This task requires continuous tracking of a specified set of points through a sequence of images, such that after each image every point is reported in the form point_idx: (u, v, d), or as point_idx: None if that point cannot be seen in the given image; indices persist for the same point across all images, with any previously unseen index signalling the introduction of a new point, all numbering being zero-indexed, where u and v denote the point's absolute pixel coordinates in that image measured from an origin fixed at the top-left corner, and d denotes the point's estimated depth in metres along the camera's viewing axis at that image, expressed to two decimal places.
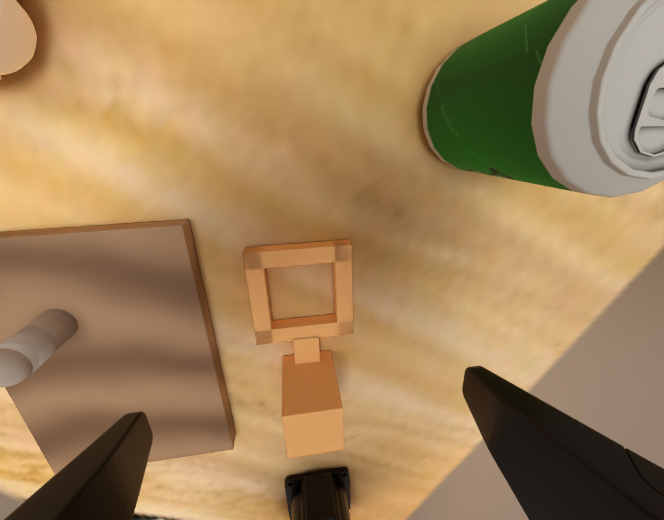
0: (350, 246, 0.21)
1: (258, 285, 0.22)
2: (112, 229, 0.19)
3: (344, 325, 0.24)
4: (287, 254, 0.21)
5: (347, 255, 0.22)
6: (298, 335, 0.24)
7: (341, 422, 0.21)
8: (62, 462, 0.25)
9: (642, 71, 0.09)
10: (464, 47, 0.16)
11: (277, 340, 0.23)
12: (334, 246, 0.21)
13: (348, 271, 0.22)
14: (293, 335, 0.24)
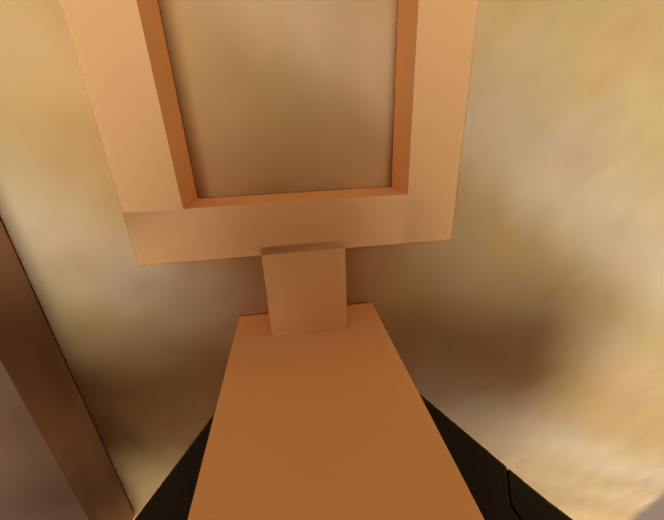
0: None
1: None
2: None
3: (429, 208, 0.07)
4: None
5: None
6: (279, 237, 0.07)
7: None
8: None
9: None
10: None
11: (209, 252, 0.07)
12: None
13: None
14: (262, 236, 0.07)
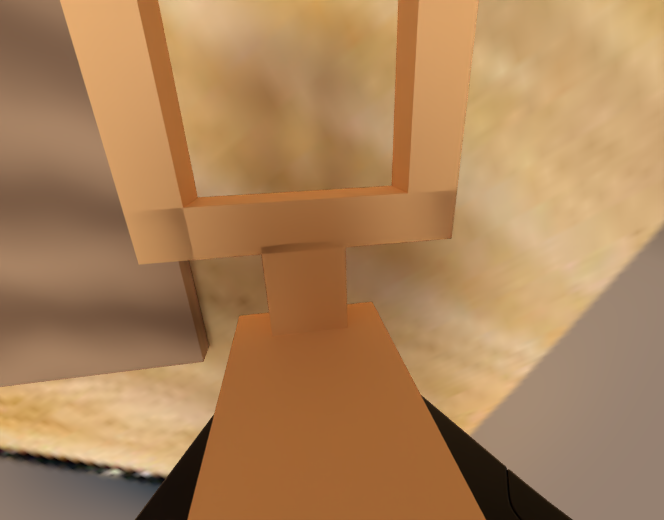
0: None
1: None
2: None
3: (429, 207, 0.07)
4: None
5: None
6: (279, 236, 0.07)
7: None
8: None
9: None
10: None
11: (209, 251, 0.07)
12: None
13: None
14: (263, 235, 0.07)
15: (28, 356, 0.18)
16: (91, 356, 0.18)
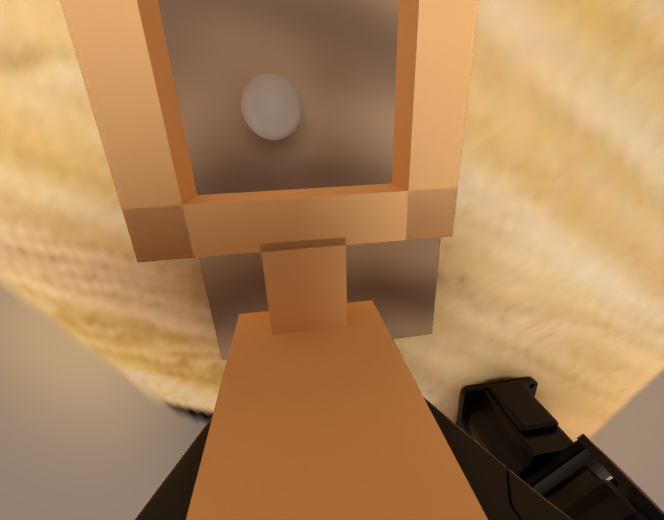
0: None
1: None
2: None
3: (429, 204, 0.07)
4: None
5: None
6: (279, 234, 0.07)
7: None
8: None
9: None
10: None
11: (208, 249, 0.07)
12: None
13: None
14: (262, 233, 0.07)
15: None
16: None
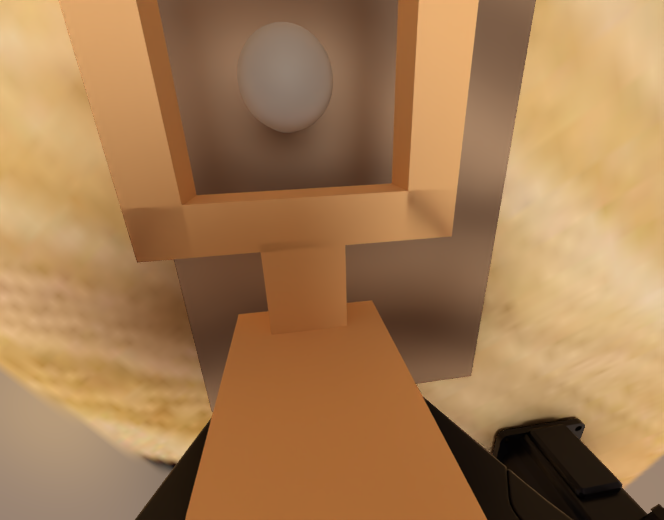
0: None
1: None
2: None
3: (429, 205, 0.07)
4: None
5: None
6: (279, 234, 0.07)
7: None
8: None
9: None
10: None
11: (208, 249, 0.07)
12: None
13: None
14: (262, 233, 0.07)
15: None
16: None
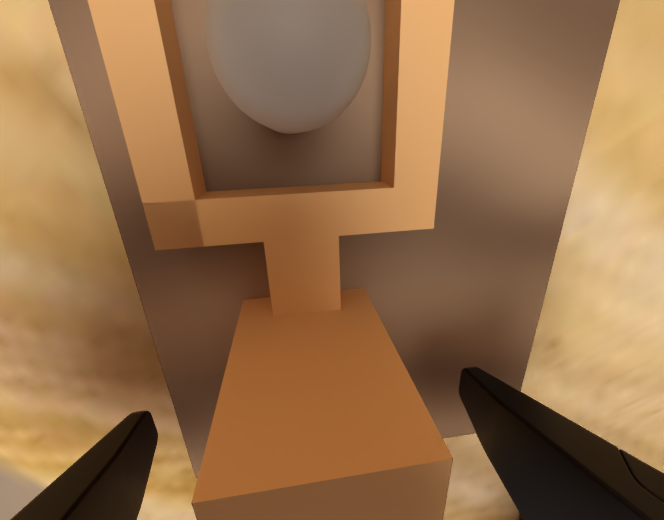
0: None
1: (128, 8, 0.06)
2: None
3: (413, 200, 0.08)
4: None
5: None
6: (280, 225, 0.08)
7: (439, 511, 0.05)
8: None
9: None
10: None
11: (217, 239, 0.08)
12: None
13: None
14: (265, 224, 0.08)
15: None
16: None
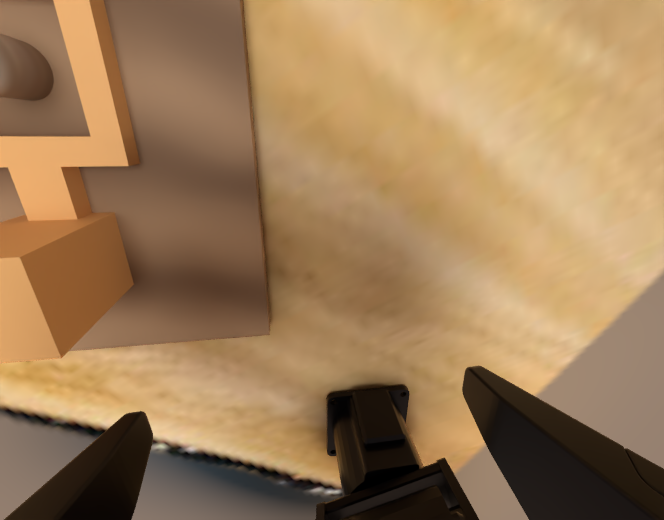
0: None
1: None
2: None
3: (107, 145, 0.13)
4: None
5: None
6: (16, 157, 0.13)
7: (31, 294, 0.10)
8: None
9: None
10: None
11: None
12: None
13: (85, 15, 0.11)
14: (5, 155, 0.13)
15: (99, 320, 0.17)
16: (161, 324, 0.18)
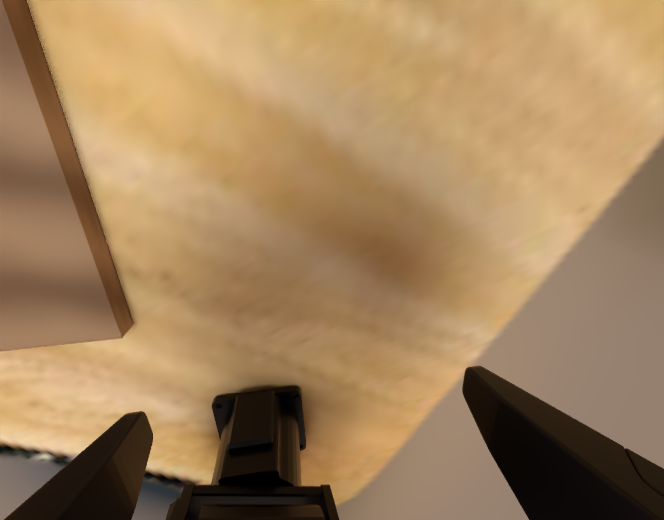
0: None
1: None
2: None
3: None
4: None
5: None
6: None
7: None
8: None
9: None
10: None
11: None
12: None
13: None
14: None
15: None
16: None
